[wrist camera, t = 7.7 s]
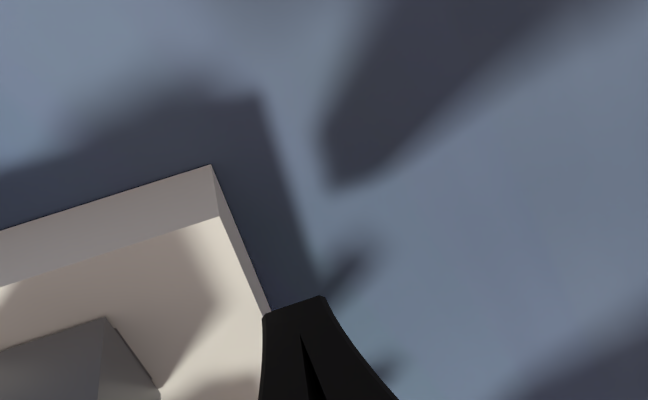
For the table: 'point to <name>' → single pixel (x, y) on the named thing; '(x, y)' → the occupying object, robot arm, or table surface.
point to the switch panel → (145, 284)
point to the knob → (75, 367)
